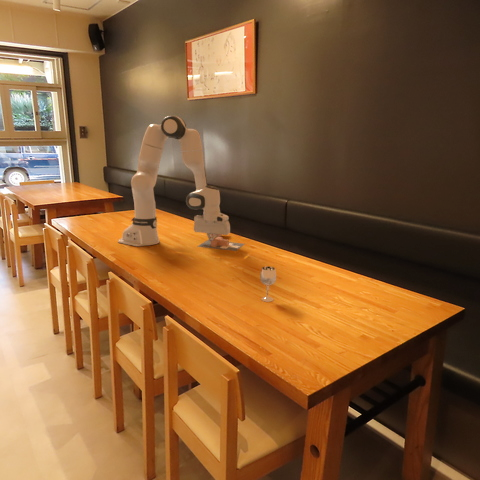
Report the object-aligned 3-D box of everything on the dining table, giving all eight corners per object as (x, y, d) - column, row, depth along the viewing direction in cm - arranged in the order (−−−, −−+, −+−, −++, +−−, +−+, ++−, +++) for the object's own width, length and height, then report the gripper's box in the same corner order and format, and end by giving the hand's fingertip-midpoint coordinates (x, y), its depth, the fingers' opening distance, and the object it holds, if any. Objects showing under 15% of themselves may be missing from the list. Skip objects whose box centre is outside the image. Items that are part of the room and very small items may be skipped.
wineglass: (265, 295, 149) (266, 264, 146) (278, 299, 145) (279, 268, 142) (256, 299, 144) (257, 268, 141) (269, 303, 141) (270, 272, 138)
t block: (210, 246, 210) (210, 241, 209) (217, 242, 219) (217, 236, 219) (224, 248, 208) (224, 242, 207) (231, 243, 217) (231, 238, 216)
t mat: (197, 247, 210) (197, 246, 210) (208, 240, 224) (208, 239, 224) (235, 252, 203) (235, 250, 203) (244, 244, 217) (244, 243, 217)
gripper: (191, 215, 212) (191, 240, 215) (227, 218, 205) (226, 244, 209) (196, 213, 217) (196, 237, 221) (231, 216, 211) (231, 241, 215)
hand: (211, 241), depth 215 cm, fingers closed
